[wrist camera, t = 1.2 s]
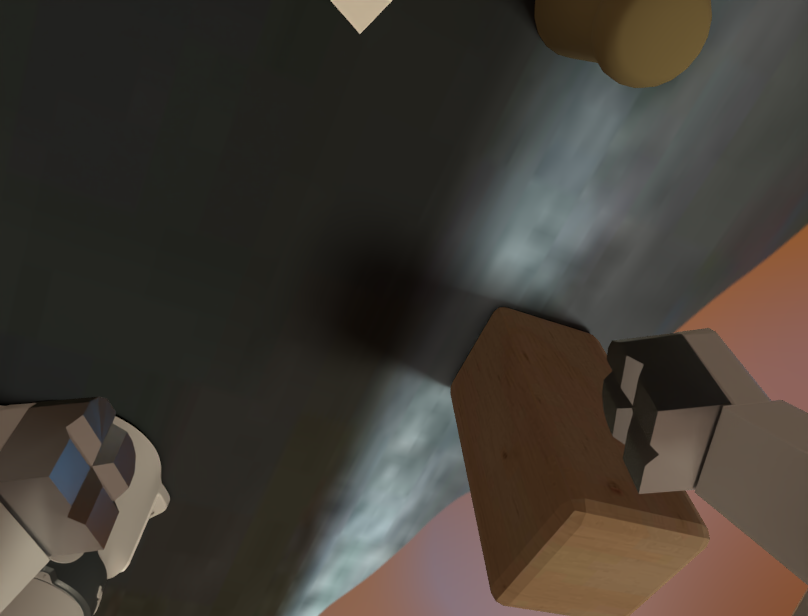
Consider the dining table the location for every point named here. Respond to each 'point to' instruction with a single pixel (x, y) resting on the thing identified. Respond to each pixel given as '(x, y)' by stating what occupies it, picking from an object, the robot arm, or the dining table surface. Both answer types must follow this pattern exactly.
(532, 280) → the dining table surface
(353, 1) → the letter
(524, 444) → the wooden block
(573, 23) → the cork
